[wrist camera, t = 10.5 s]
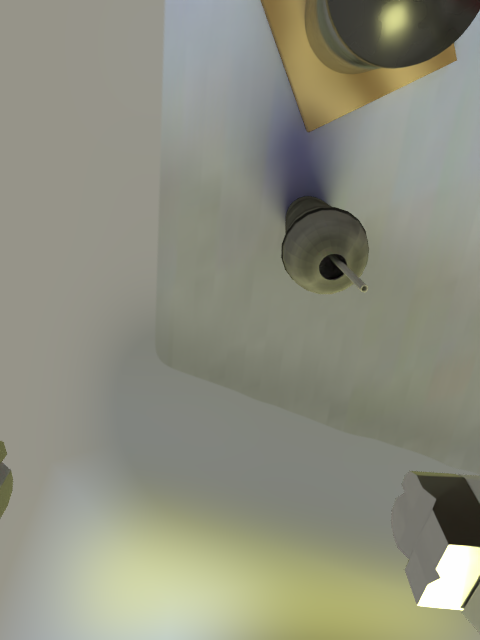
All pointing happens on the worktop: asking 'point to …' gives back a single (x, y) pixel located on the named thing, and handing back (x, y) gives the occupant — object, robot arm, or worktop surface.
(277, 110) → the worktop surface
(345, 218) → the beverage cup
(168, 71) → the worktop surface
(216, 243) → the worktop surface
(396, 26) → the press
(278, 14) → the plate
